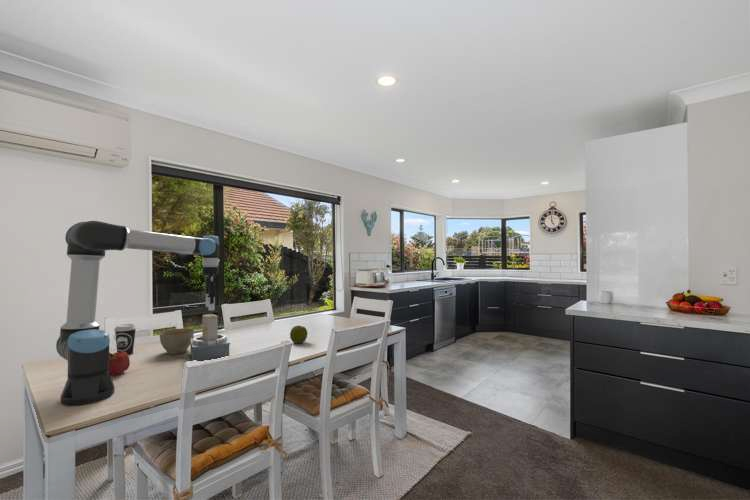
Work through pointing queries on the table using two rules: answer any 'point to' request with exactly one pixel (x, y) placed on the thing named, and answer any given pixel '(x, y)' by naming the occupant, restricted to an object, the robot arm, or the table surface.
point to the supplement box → (209, 327)
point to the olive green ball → (298, 334)
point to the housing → (209, 348)
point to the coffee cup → (125, 337)
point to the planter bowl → (176, 340)
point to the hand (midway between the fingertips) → (210, 308)
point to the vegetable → (118, 363)
